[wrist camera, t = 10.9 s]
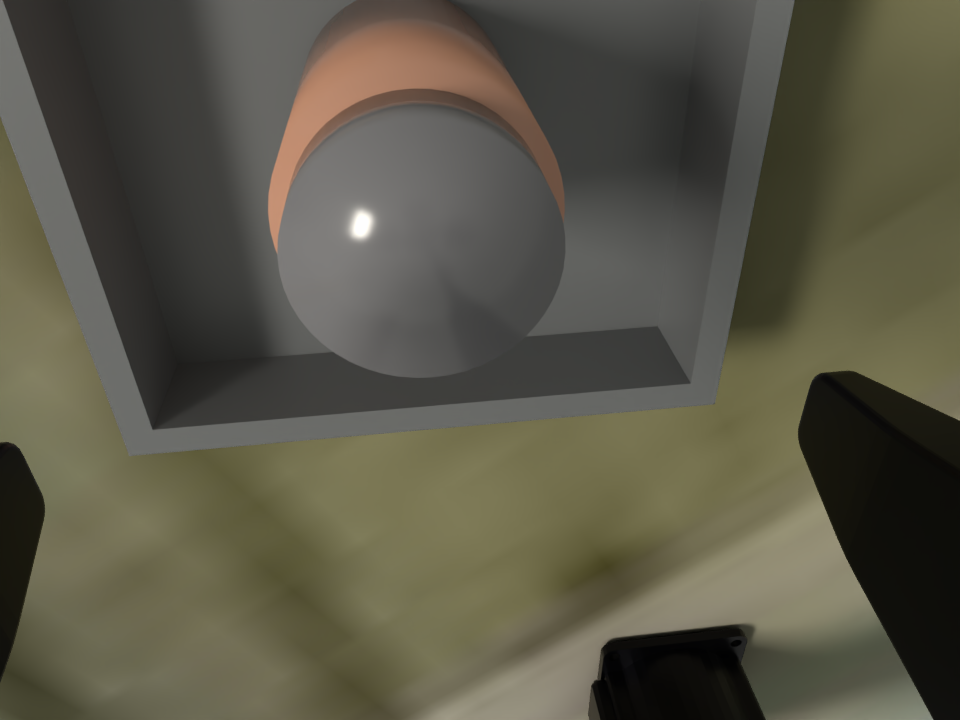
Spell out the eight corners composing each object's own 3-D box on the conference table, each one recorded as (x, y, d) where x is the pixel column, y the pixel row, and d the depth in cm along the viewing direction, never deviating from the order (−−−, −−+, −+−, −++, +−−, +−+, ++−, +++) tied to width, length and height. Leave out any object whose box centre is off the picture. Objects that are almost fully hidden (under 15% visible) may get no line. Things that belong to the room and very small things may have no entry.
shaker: (507, -15, 17) (595, 86, 10) (506, 191, 20) (575, 379, 13) (285, -6, 17) (224, 106, 10) (317, 203, 20) (286, 403, 13)
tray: (773, -336, 15) (869, -380, 12) (673, 335, 24) (714, 404, 21) (-67, -332, 14) (-188, -378, 11) (161, 376, 23) (129, 455, 20)
